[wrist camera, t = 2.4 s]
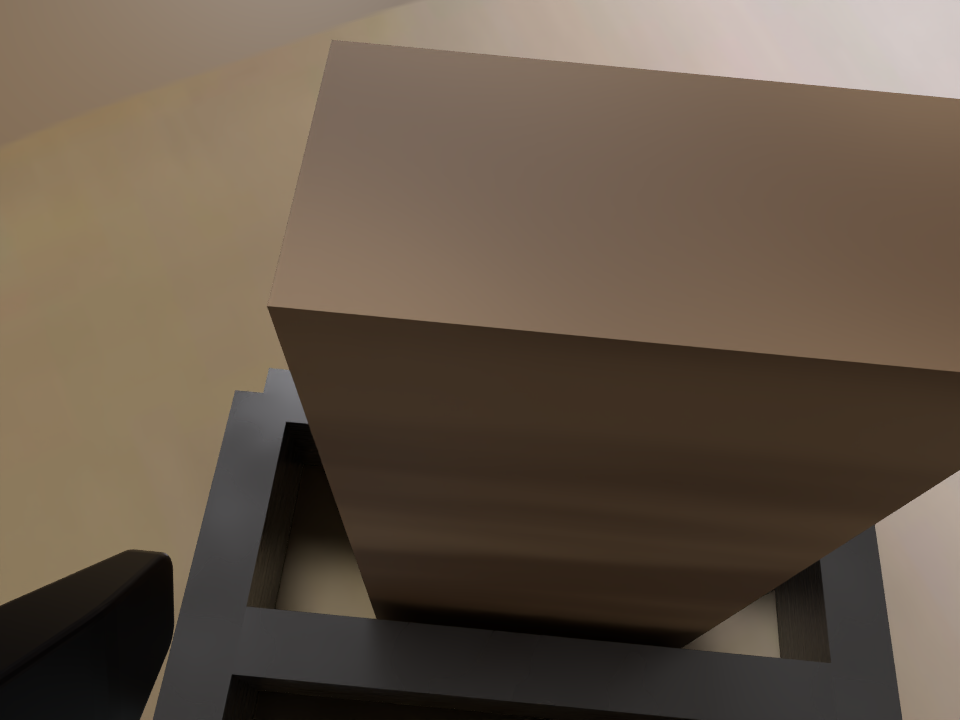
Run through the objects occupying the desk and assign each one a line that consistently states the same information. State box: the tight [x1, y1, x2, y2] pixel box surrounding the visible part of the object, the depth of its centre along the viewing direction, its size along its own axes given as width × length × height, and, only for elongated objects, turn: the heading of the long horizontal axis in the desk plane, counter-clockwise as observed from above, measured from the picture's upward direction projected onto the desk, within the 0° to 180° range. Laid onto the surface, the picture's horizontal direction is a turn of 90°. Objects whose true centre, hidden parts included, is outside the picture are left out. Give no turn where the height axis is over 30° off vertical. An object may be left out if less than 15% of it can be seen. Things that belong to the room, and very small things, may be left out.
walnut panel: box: [267, 40, 960, 649], centre depth 13 cm, size 3×6×13 cm, turn 85°
